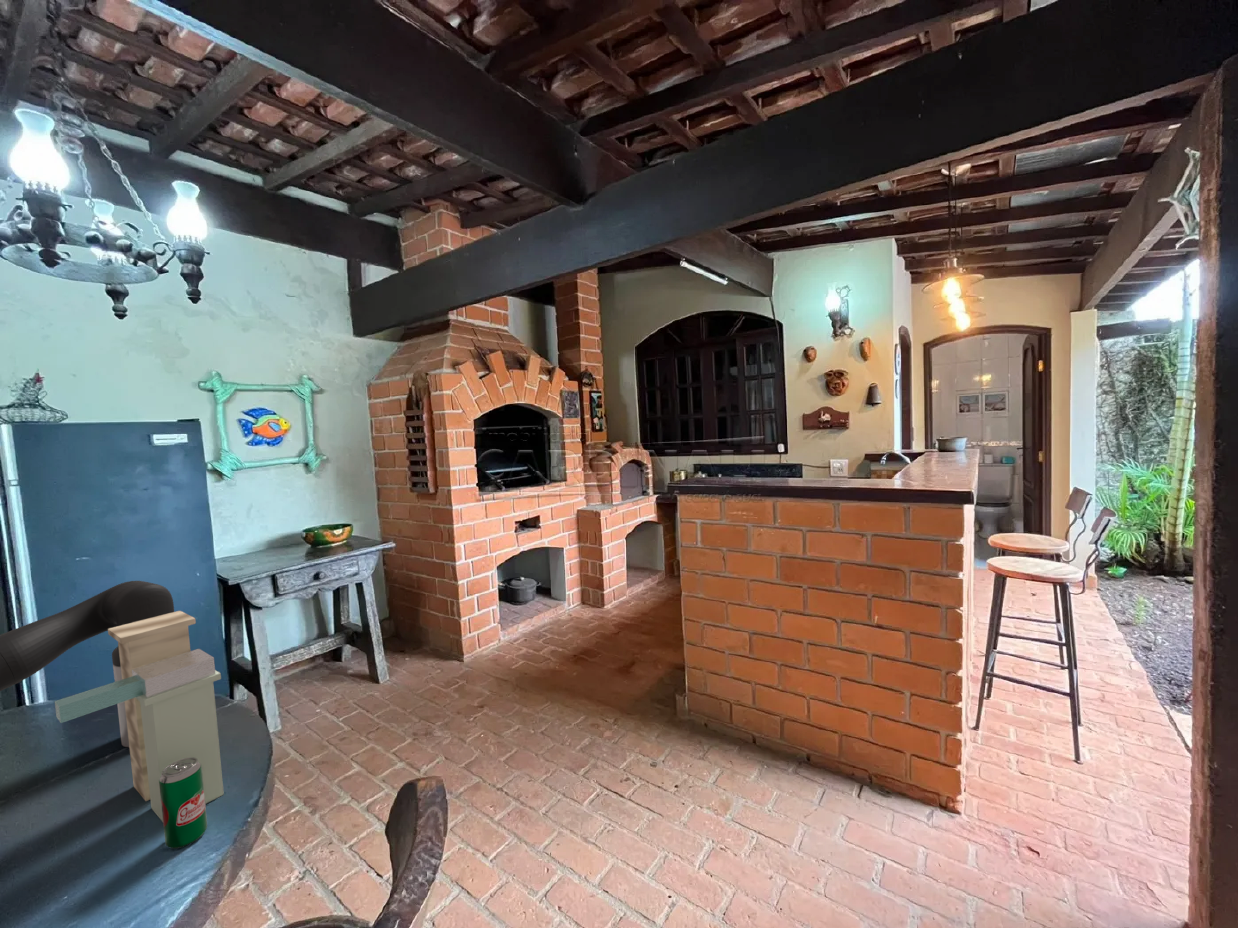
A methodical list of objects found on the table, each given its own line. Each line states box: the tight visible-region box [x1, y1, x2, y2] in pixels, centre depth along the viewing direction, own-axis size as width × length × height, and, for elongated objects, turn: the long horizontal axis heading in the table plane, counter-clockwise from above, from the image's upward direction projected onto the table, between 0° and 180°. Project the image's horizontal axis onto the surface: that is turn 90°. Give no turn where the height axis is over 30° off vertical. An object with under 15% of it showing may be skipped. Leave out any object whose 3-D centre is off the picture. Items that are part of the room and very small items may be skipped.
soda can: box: [159, 757, 208, 850], centre depth 79 cm, size 5×5×12 cm
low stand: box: [135, 669, 225, 823], centre depth 87 cm, size 8×10×22 cm
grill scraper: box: [54, 648, 216, 724], centre depth 82 cm, size 7×18×3 cm, turn 147°
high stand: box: [107, 610, 197, 802], centre depth 92 cm, size 8×10×30 cm
